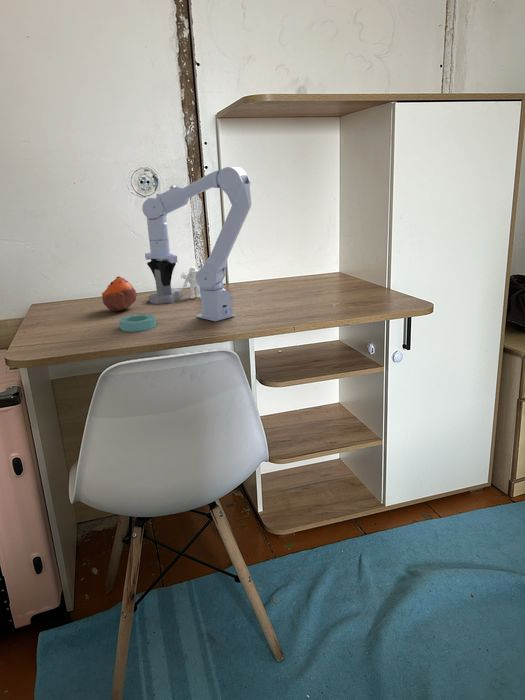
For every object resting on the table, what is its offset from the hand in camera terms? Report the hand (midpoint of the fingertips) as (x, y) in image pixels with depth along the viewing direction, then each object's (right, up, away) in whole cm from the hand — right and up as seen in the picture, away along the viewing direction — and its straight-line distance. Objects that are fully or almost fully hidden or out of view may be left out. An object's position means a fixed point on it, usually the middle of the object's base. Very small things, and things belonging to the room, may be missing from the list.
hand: (163, 284), depth 165 cm
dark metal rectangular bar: (0, -3, +1) cm, 3 cm away
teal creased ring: (-6, -13, -8) cm, 16 cm away
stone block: (-4, -3, +27) cm, 27 cm away
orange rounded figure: (-17, -7, +14) cm, 23 cm away
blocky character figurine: (+6, -1, +28) cm, 29 cm away
